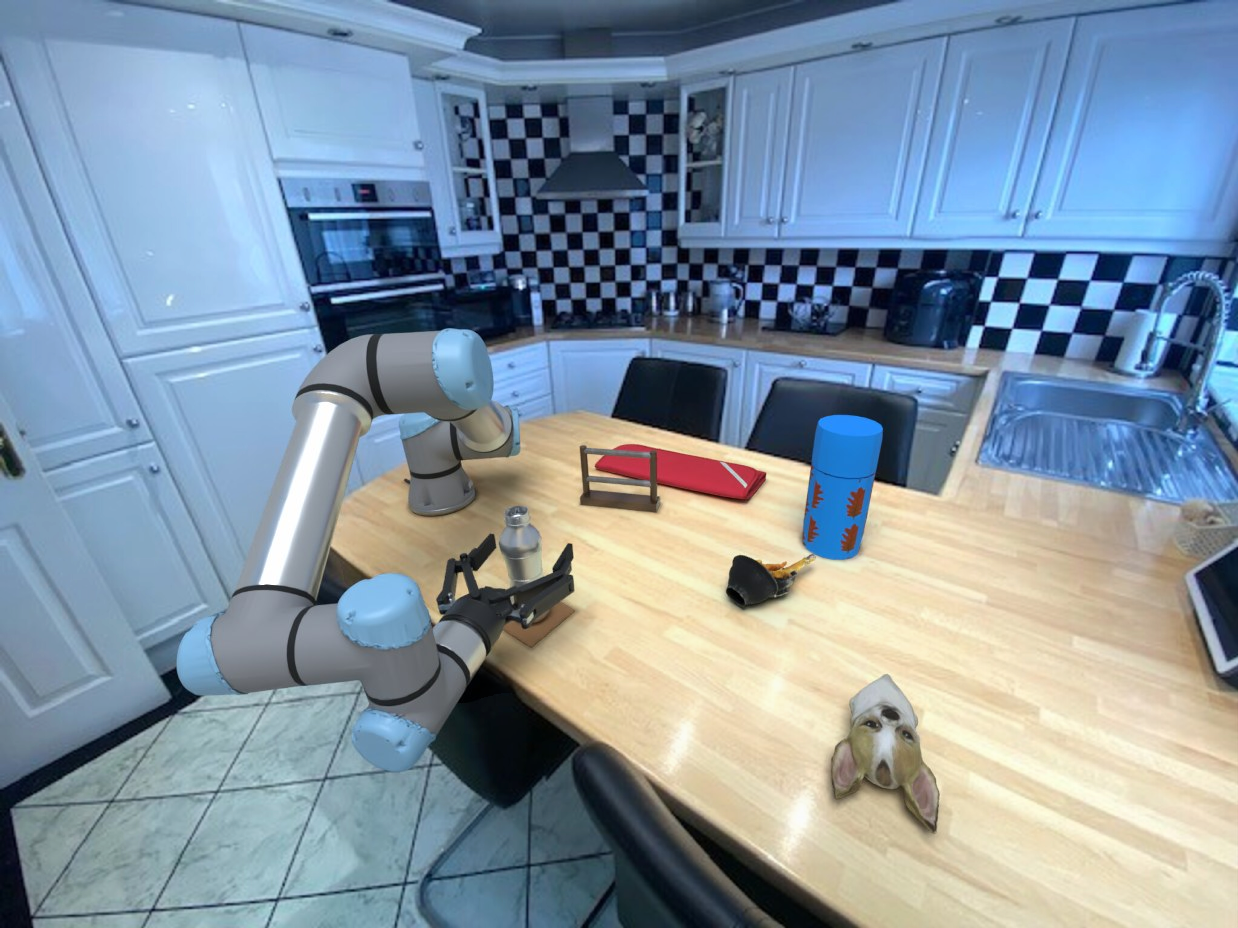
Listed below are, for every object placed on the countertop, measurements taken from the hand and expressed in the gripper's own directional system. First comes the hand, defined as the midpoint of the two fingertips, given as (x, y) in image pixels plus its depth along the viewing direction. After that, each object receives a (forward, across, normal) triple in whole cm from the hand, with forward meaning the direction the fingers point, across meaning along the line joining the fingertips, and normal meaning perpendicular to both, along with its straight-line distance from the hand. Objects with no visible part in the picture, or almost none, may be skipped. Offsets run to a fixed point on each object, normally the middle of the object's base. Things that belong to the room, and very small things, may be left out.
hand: (531, 545), depth 82 cm
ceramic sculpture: (-17, +50, -12) cm, 55 cm away
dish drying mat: (+53, +15, -12) cm, 57 cm away
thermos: (+29, +49, -12) cm, 59 cm away
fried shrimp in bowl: (+12, +38, -12) cm, 42 cm away
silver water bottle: (-3, 0, -12) cm, 12 cm away
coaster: (-3, 0, -12) cm, 13 cm away
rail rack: (+36, +5, -12) cm, 38 cm away
